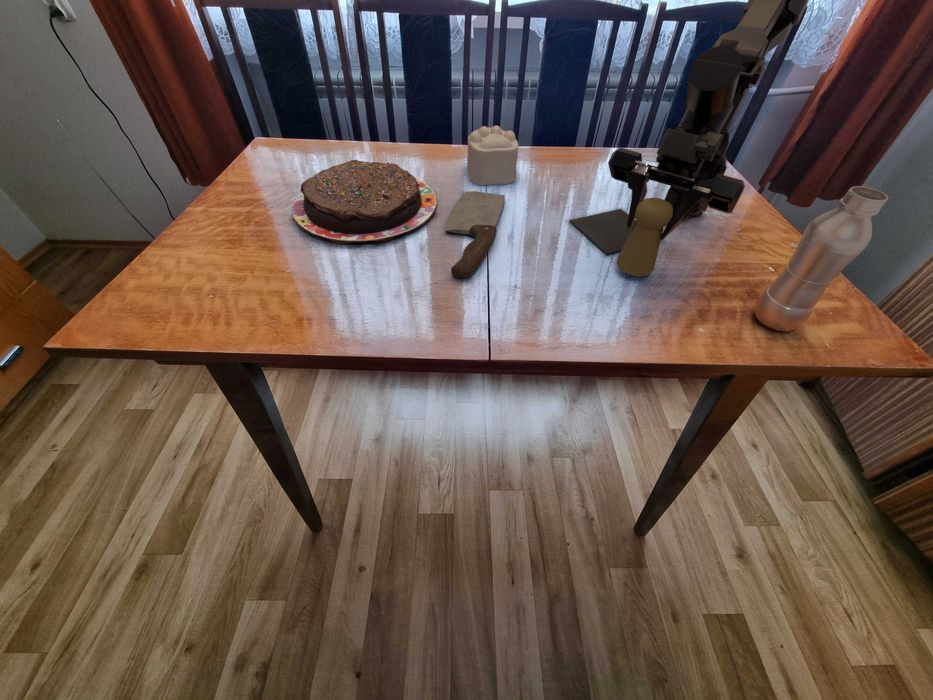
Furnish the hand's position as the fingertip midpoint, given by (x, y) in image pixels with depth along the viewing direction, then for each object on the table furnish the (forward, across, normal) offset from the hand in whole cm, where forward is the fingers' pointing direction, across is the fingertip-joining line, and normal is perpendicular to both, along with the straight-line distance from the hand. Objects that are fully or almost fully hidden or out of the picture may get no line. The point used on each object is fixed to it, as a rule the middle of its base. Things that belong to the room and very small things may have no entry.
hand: (644, 233), depth 63 cm
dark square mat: (-2, -8, +14) cm, 16 cm away
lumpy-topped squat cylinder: (-7, -40, +19) cm, 45 cm away
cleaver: (+10, -28, +2) cm, 30 cm away
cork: (+4, 0, +6) cm, 7 cm away
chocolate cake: (+14, -50, -2) cm, 52 cm away
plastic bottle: (+4, +21, +8) cm, 23 cm away
